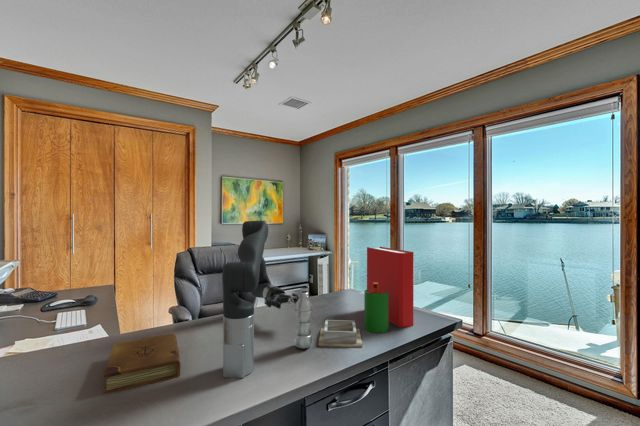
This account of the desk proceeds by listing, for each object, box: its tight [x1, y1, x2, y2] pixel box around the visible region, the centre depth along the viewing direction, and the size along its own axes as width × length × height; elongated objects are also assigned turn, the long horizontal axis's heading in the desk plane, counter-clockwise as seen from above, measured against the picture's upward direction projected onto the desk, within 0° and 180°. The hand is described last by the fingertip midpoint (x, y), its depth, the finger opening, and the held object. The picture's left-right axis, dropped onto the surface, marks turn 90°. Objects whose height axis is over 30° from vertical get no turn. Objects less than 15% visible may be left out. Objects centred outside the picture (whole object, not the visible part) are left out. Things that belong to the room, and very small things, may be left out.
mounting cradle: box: [318, 319, 363, 348], centre depth 119 cm, size 16×16×5 cm
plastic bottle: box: [293, 290, 313, 350], centre depth 111 cm, size 6×7×20 cm
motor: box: [363, 282, 390, 334], centre depth 129 cm, size 10×9×20 cm
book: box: [366, 246, 414, 328], centre depth 144 cm, size 27×8×32 cm, turn 23°
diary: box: [103, 333, 181, 395], centre depth 96 cm, size 23×19×6 cm
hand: (289, 304), depth 120 cm, fingers open, 8 cm apart
